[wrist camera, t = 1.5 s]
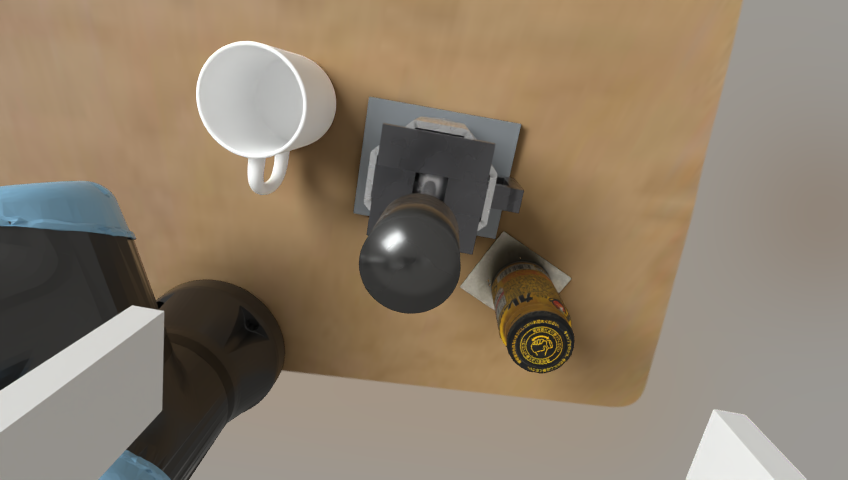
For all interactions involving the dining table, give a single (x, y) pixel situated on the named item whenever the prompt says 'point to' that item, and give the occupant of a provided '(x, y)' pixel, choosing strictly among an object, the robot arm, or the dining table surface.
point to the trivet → (405, 113)
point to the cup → (264, 105)
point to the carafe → (440, 173)
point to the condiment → (525, 304)
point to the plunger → (413, 250)
